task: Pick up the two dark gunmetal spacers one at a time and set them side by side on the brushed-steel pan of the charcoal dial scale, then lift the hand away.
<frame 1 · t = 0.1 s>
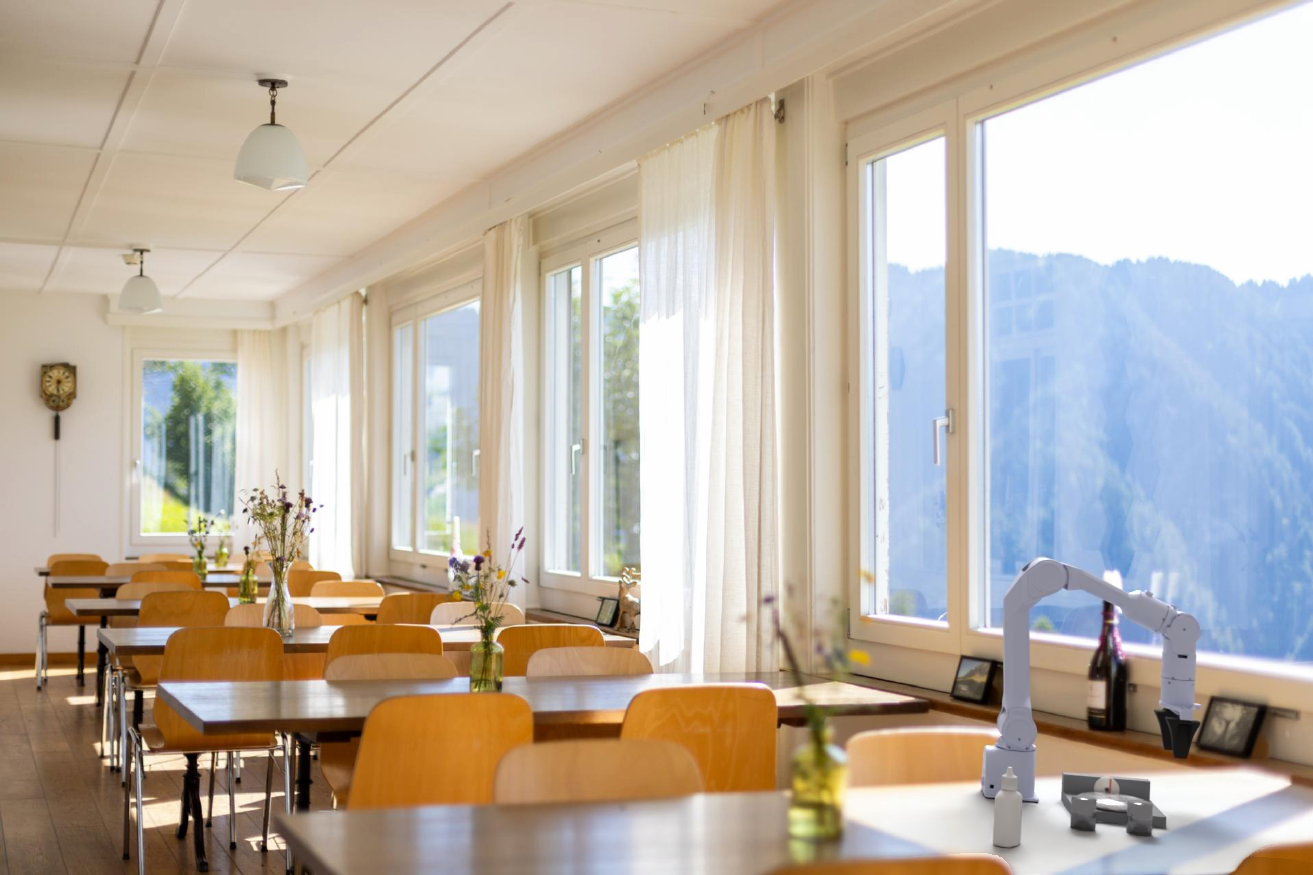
hand: (1175, 753, 235), 10 cm above the table, tool pointing down, fingers open, 7 cm apart
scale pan: (1113, 801, 229), point 2 cm above the table, slide at 0.3 cm
spacer 1: (1138, 833, 217), on the table
scale: (1111, 813, 230), on the table
eye dropper bottle: (1006, 845, 206), on the table
spacer 2: (1082, 828, 219), on the table
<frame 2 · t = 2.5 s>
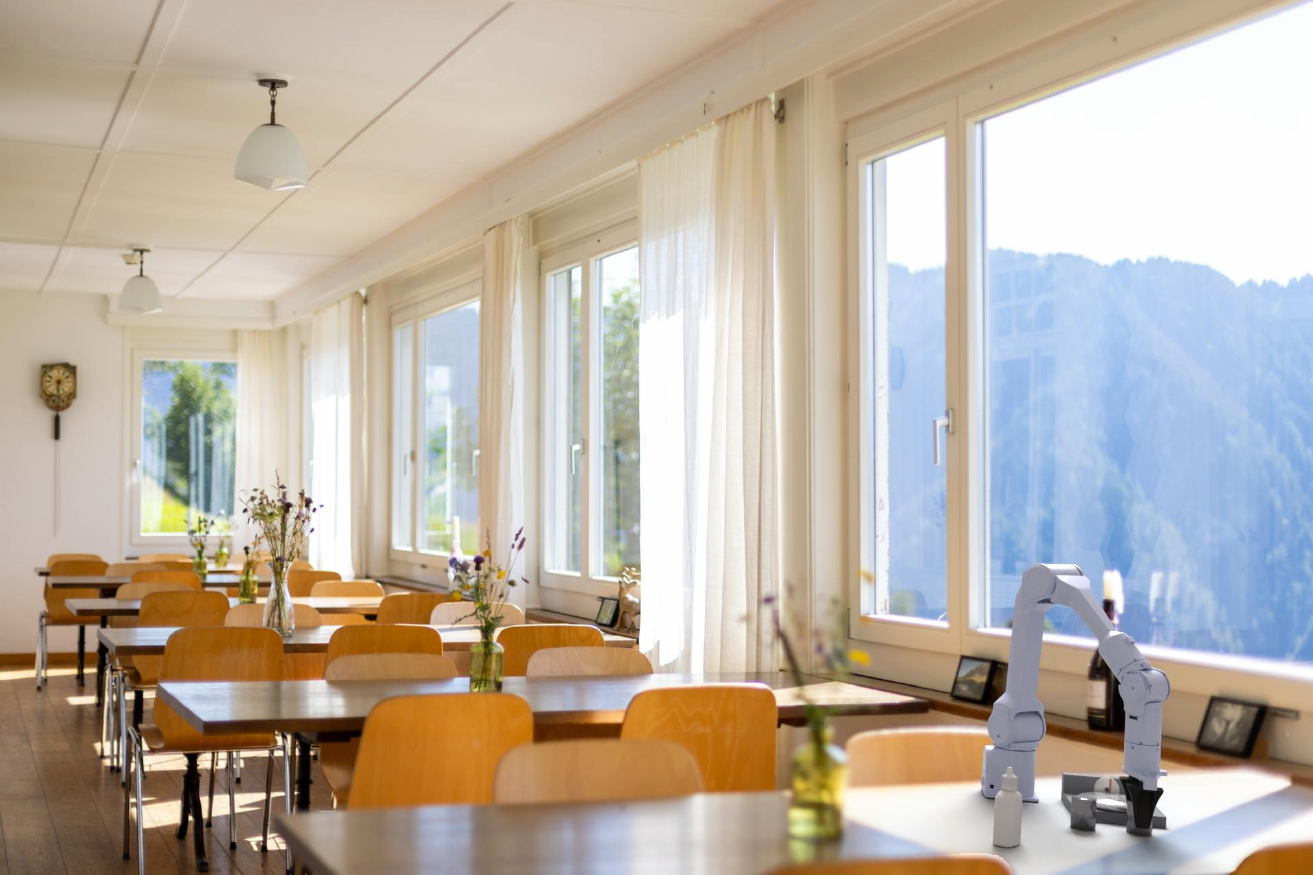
hand: (1139, 824, 217), 1 cm above the table, tool pointing down, fingers closed on spacer 1, 4 cm apart
spacer 1: (1138, 833, 217), on the table, touching gripper
everything else where it was.
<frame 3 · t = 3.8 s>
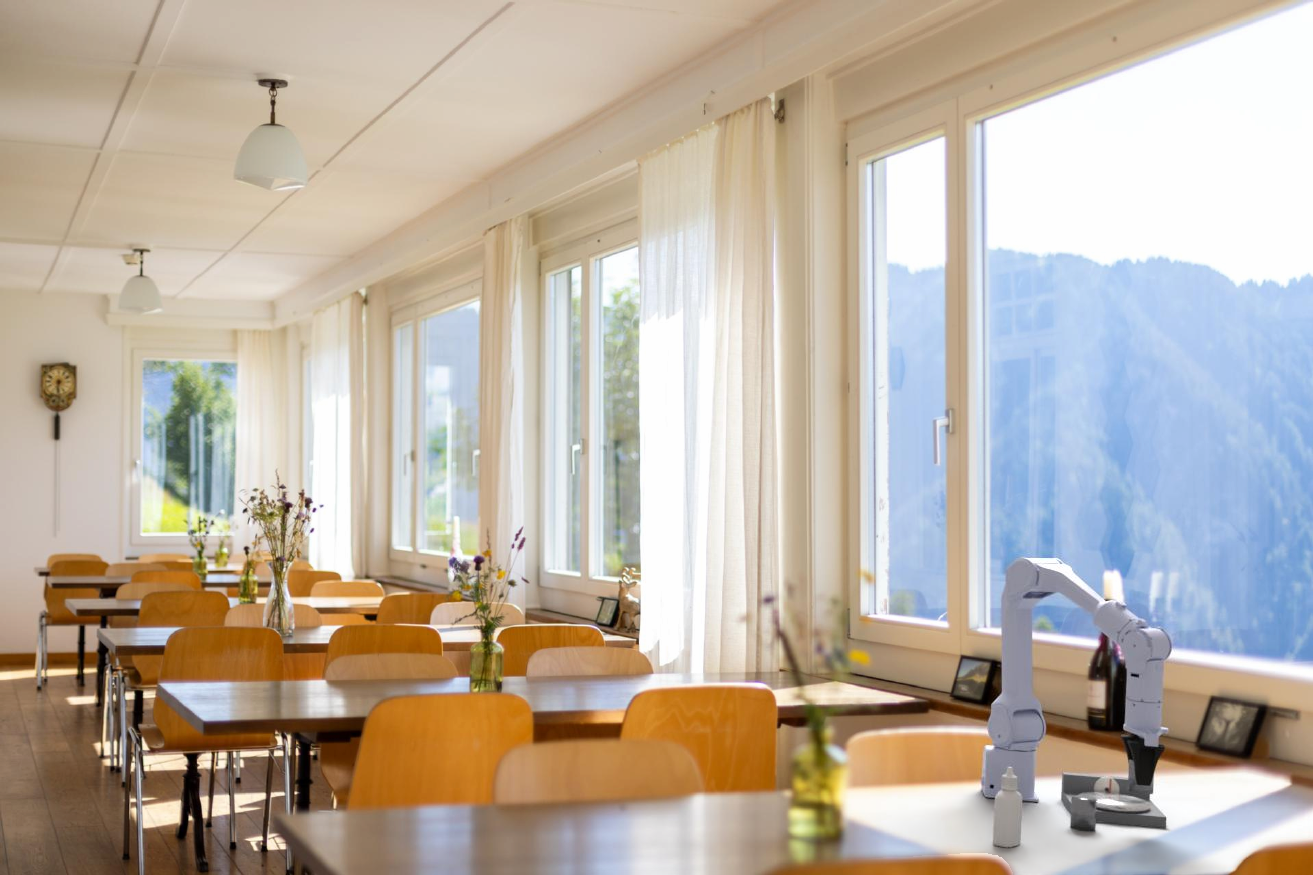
hand: (1140, 781, 218), 8 cm above the table, tool pointing down, fingers closed on spacer 1, 4 cm apart
spacer 1: (1140, 791, 218), point 7 cm above the table, touching gripper
everything else where it was.
when the fingers open (5 cm above the table, at t = 5.4 s): spacer 1 drops 1 cm, resting on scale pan.
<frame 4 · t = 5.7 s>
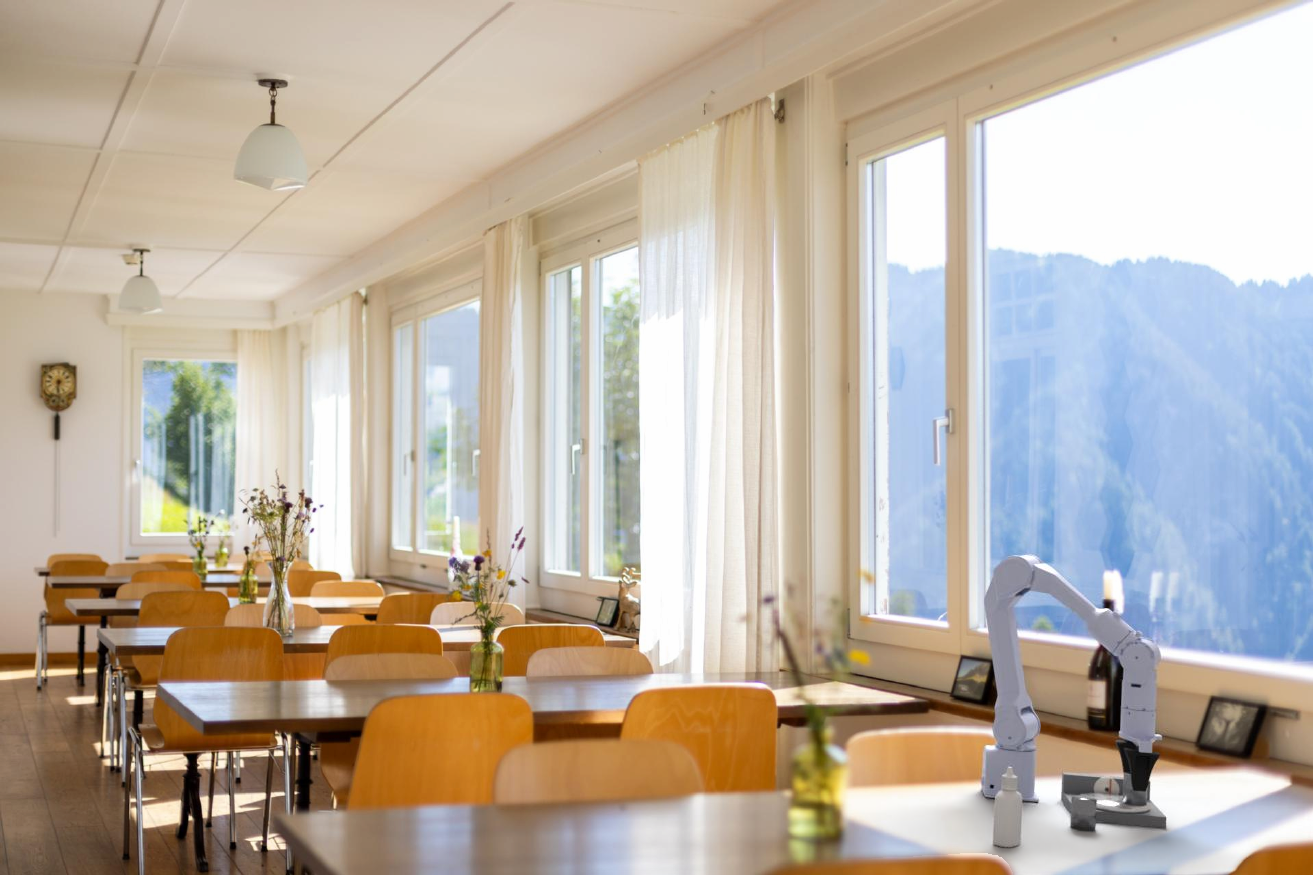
hand: (1135, 786, 228), 5 cm above the table, tool pointing down, fingers open, 6 cm apart
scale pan: (1113, 802, 229), point 2 cm above the table, slide at 0.5 cm, touching spacer 1
spacer 1: (1134, 802, 228), point 2 cm above the table, touching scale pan
everything else where it was.
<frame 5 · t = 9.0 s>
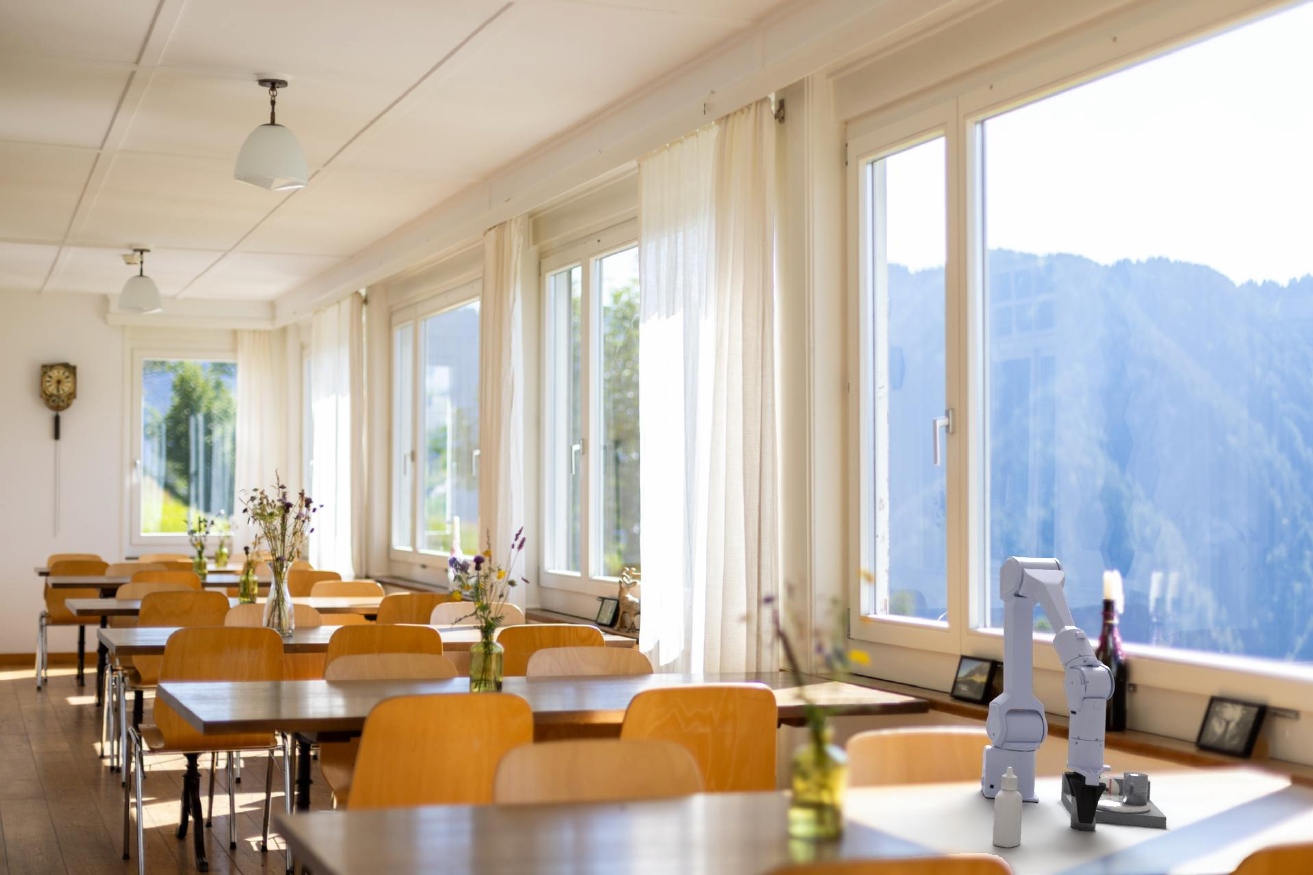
hand: (1083, 819, 219), 1 cm above the table, tool pointing down, fingers closed on spacer 2, 4 cm apart
spacer 2: (1082, 828, 219), on the table, touching gripper
everything else where it was.
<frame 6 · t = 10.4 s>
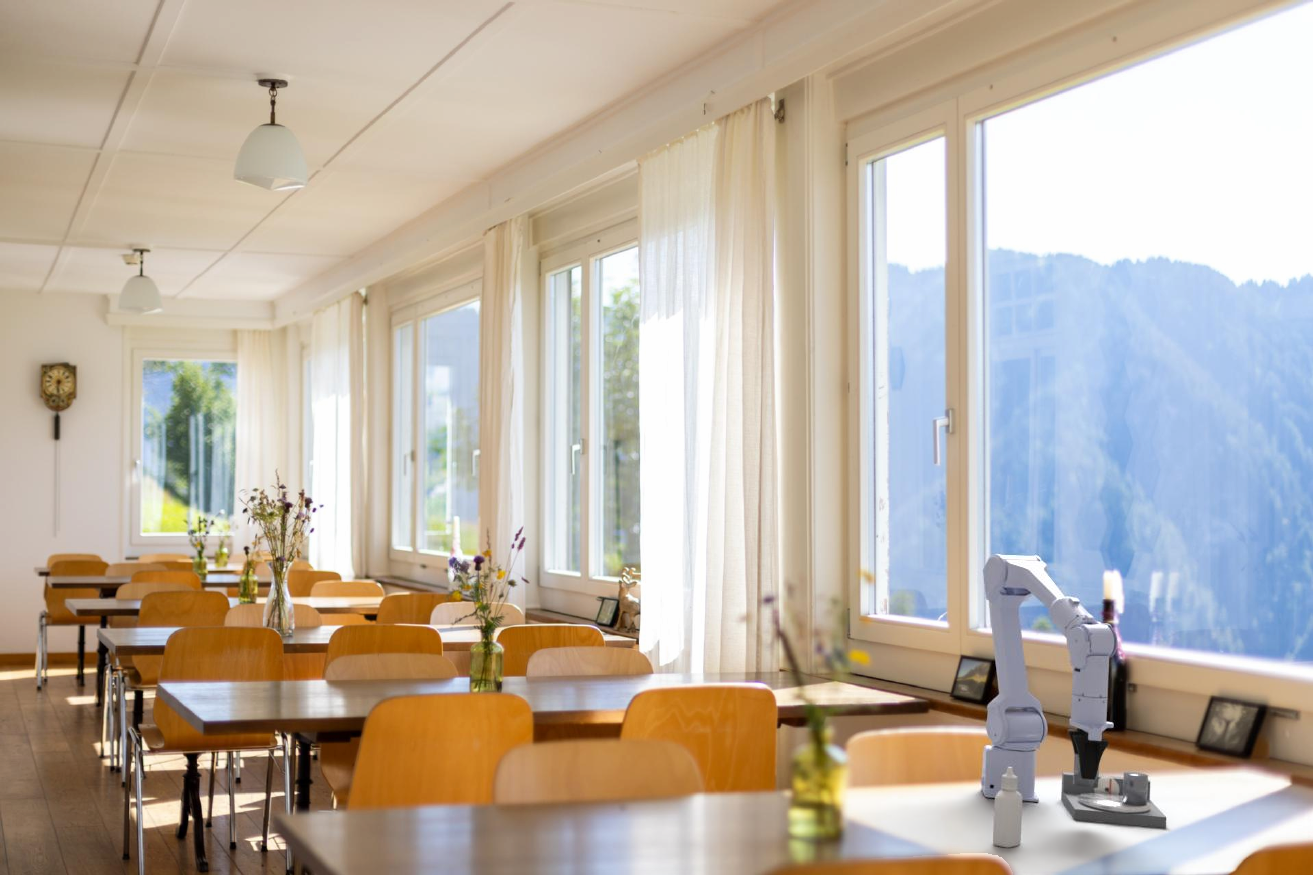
hand: (1086, 775, 221), 8 cm above the table, tool pointing down, fingers closed on spacer 2, 4 cm apart
spacer 2: (1085, 785, 221), point 7 cm above the table, touching gripper
everything else where it was.
when the fingers open (5 cm above the table, at t = 11.9 s): spacer 2 drops 1 cm, resting on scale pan.
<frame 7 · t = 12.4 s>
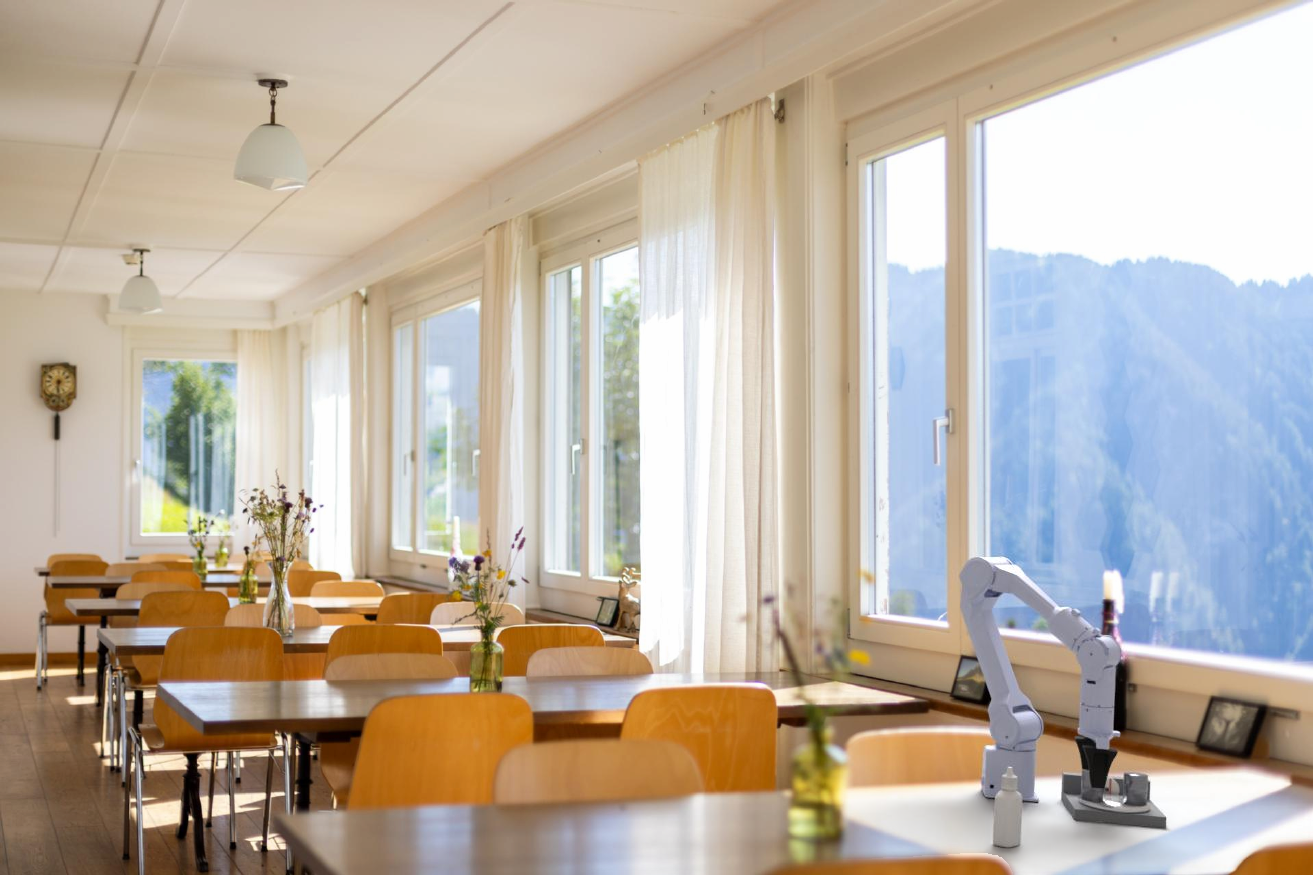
hand: (1093, 782, 230), 5 cm above the table, tool pointing down, fingers open, 7 cm apart
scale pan: (1113, 802, 229), point 2 cm above the table, slide at 0.5 cm, touching spacer 1, spacer 2
spacer 2: (1092, 799, 229), point 2 cm above the table, touching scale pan
everything else where it was.
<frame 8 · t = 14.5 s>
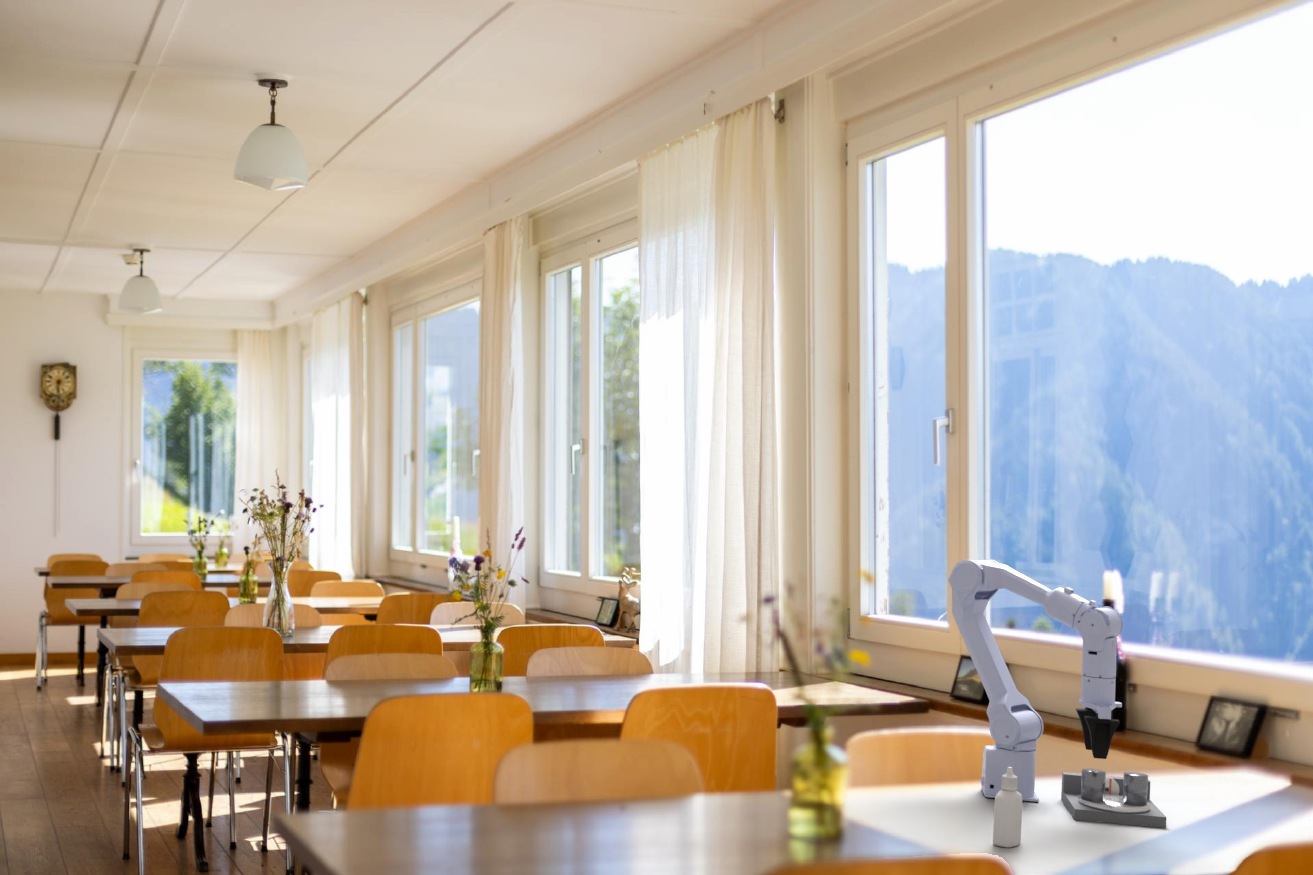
hand: (1095, 753, 230), 10 cm above the table, tool pointing down, fingers open, 7 cm apart
nothing on the table moved.
at the end: spacer 1 0.0 cm from the target spot on the scale, point 2.4 cm above the scale's base; spacer 2 0.1 cm from the target spot on the scale, point 2.4 cm above the scale's base; the gripper is holding nothing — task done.
